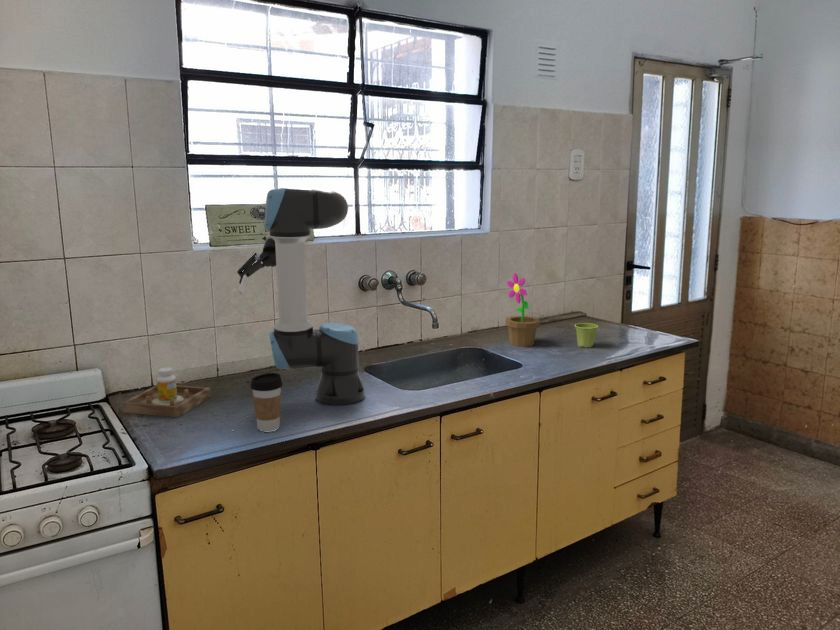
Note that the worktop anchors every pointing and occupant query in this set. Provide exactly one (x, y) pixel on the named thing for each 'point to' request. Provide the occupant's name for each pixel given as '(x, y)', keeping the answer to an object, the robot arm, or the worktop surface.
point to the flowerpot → (521, 318)
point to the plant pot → (585, 334)
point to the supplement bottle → (166, 385)
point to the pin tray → (152, 406)
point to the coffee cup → (267, 400)
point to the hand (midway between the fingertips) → (259, 293)
